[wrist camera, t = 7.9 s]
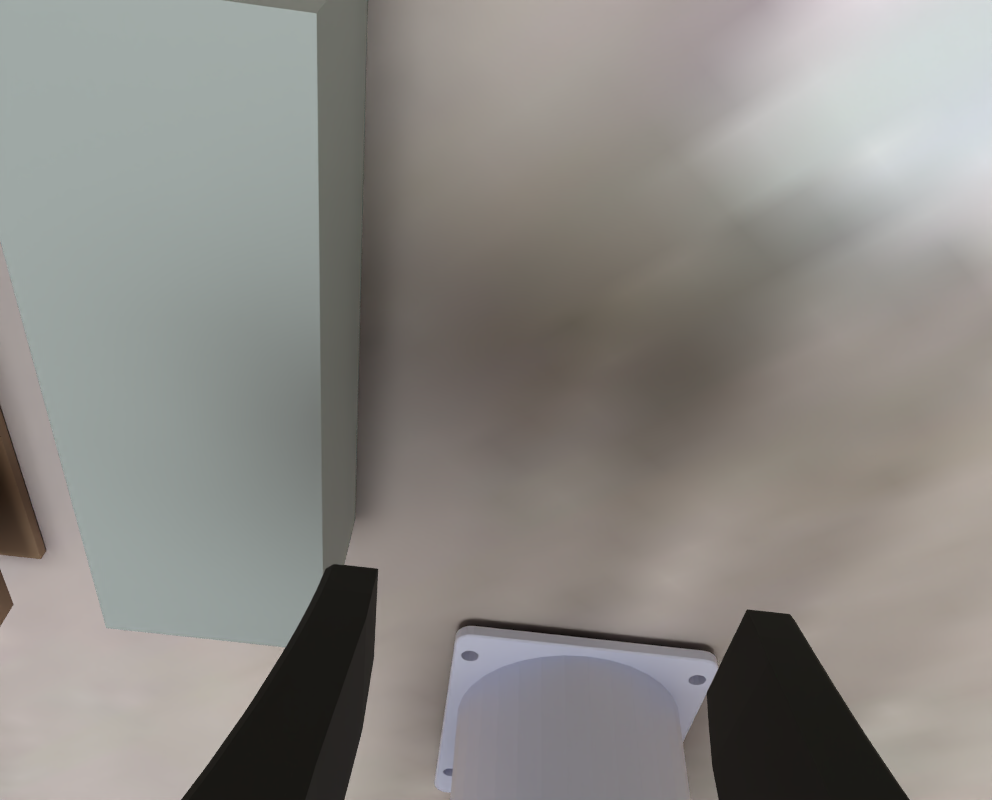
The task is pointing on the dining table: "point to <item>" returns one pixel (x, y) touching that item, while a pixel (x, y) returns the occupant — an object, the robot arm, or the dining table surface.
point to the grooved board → (14, 516)
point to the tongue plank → (193, 291)
